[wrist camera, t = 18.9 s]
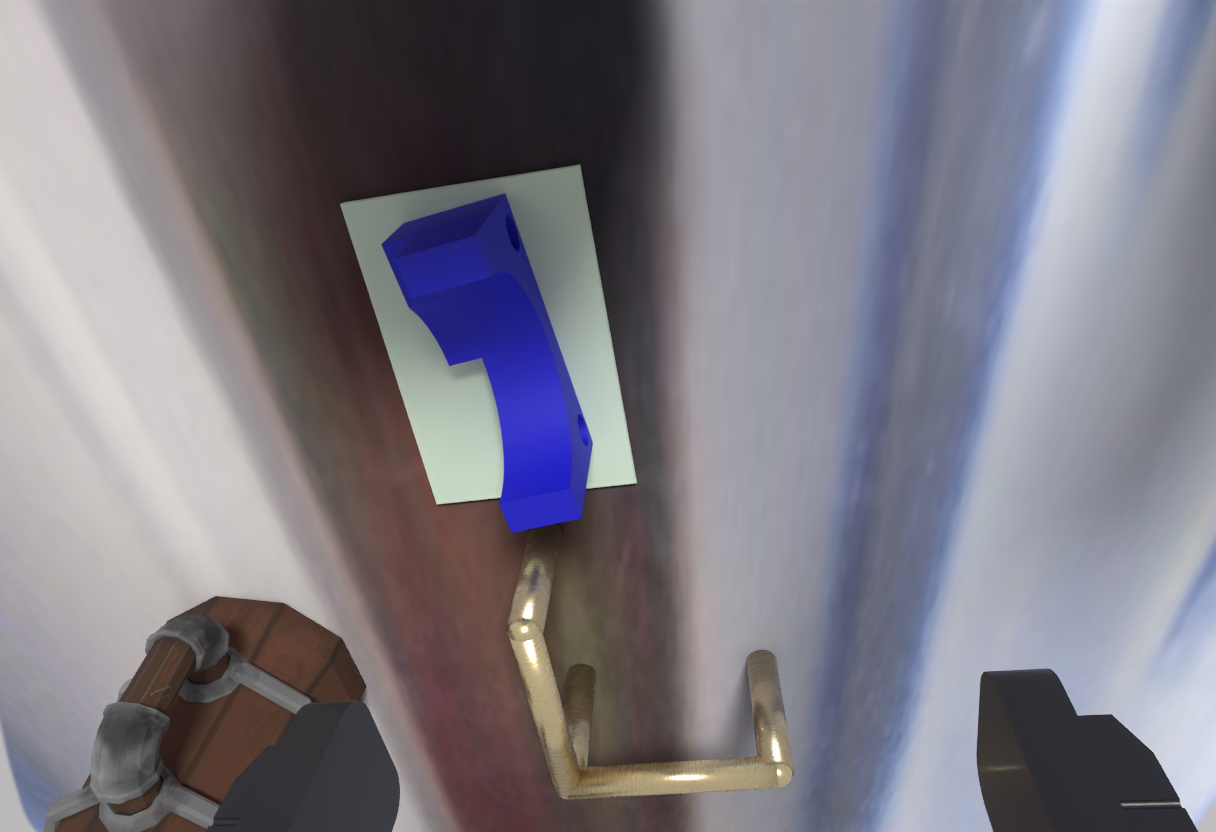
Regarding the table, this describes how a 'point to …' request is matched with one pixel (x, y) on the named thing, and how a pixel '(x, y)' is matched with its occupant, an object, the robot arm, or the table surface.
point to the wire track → (571, 722)
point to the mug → (203, 715)
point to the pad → (462, 394)
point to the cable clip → (500, 349)
